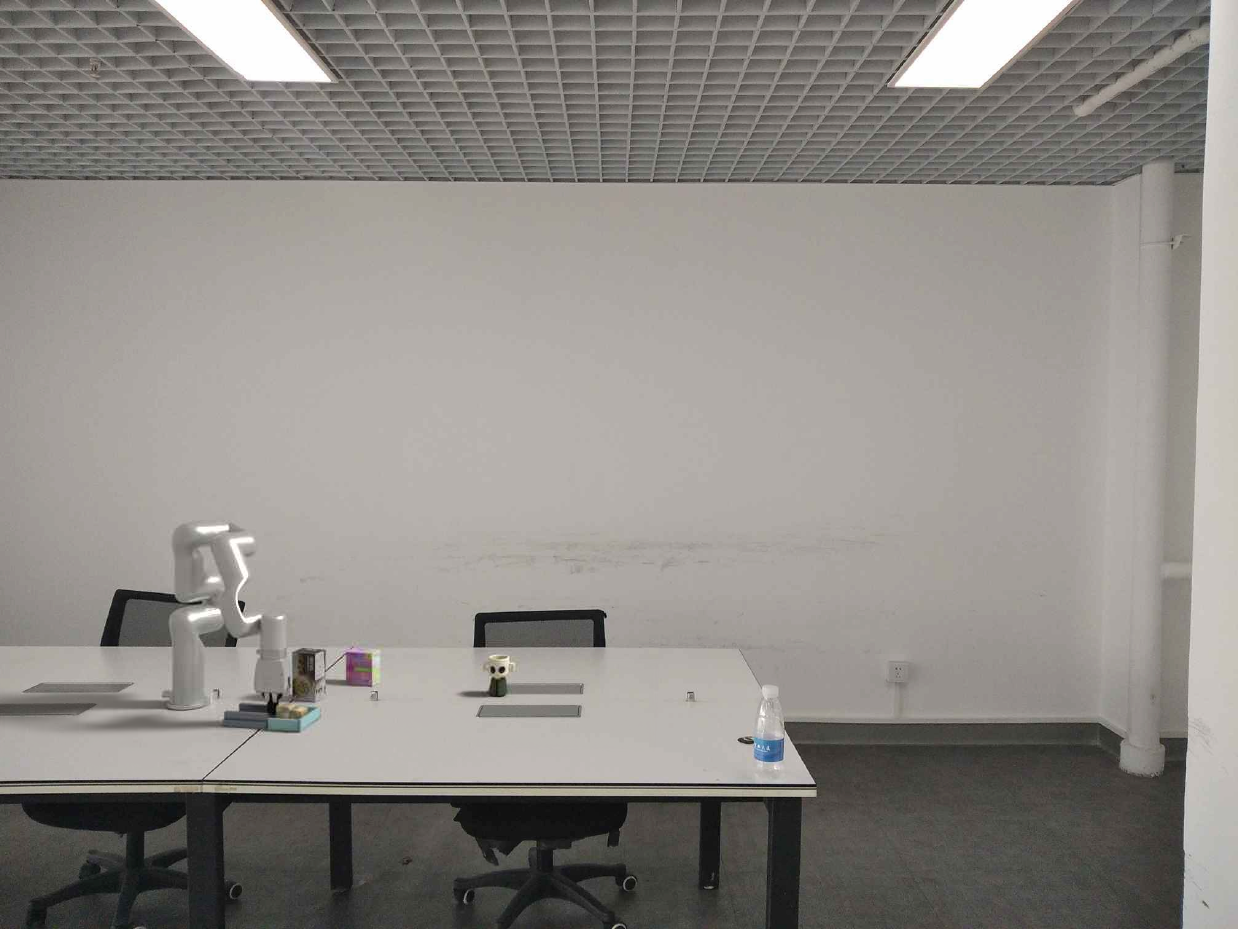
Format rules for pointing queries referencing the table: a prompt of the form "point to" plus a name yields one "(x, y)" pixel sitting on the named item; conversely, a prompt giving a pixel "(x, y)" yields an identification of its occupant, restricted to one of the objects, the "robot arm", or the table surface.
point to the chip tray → (295, 721)
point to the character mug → (498, 673)
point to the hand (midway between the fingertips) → (272, 713)
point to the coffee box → (308, 674)
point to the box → (362, 667)
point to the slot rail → (248, 716)
